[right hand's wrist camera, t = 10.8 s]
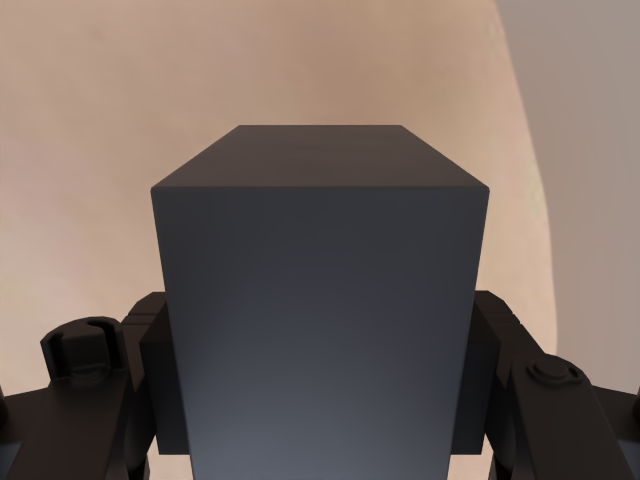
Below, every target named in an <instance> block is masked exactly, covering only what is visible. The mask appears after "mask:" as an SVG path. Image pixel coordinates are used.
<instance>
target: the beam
mask: <svg viewBox="0 0 640 480" xmlns="http://www.w3.org/2000/svg"><path fill="white" fill-rule="evenodd" d="M489 193H490V190H489V187H487V186H486V185H485V184H483V183H482V182H480V181H479V180H478V179H476V178H475V177H473V176H472V175H471V174H469V173H468V172H466V171H465V170H463V169H462V168H461V167H459V166H458V165H456V164H455V163H454V162H452V161H451V160H449V159H448V158H447V157H445V156H444V155H442V154H441V153H440V152H438V151H437V150H435V149H434V148H433V147H431V146H430V145H428V144H427V143H425V142H424V141H423V140H421V139H420V138H418V137H417V136H416V135H414V134H413V133H411V132H410V131H409V130H407V129H406V128H404V127H403V126H401V125H239V126H237V127H236V128H235V129H233V130H232V131H230V132H229V133H228V134H226V135H225V136H223V137H222V138H221V139H219V140H218V141H216V142H215V143H214V144H212V145H211V146H209V147H208V148H206V149H205V150H204V151H202V152H201V153H199V154H198V155H197V156H195V157H194V158H192V159H191V160H190V161H188V162H187V163H185V164H184V165H183V166H181V167H180V168H178V169H177V170H176V171H174V172H173V173H171V174H170V175H168V176H167V177H166V178H164V179H163V180H161V181H160V182H159V183H157V184H156V185H154V186H153V187H152V188H151V198H152V205H153V211H154V218H155V225H156V232H157V238H158V245H159V252H160V258H161V265H162V272H163V279H164V285H165V292H166V299H167V306H168V312H169V319H170V326H171V332H172V339H173V346H174V353H175V359H176V366H177V373H178V379H179V386H180V393H181V400H182V406H183V413H184V420H185V426H186V433H187V440H188V447H189V453H190V460H191V467H192V474H193V480H447V476H448V470H449V463H450V456H451V449H452V443H453V436H454V429H455V422H456V416H457V409H458V402H459V395H460V389H461V382H462V375H463V368H464V362H465V355H466V348H467V341H468V335H469V328H470V321H471V314H472V308H473V301H474V294H475V287H476V281H477V274H478V267H479V260H480V254H481V247H482V240H483V233H484V227H485V220H486V213H487V206H488V200H489Z"/></svg>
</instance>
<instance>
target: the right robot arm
mask: <svg viewBox="0 0 640 480" xmlns="http://www.w3.org/2000/svg"><path fill="white" fill-rule="evenodd" d="M40 344H41V347H42V351H43V354H44V358H45V362H46V365H47V369H48V372H49V376H50V379H51V381H50V383H49V385H48V387H47V388H43V389H39V390H35V391H30V392H25V393H20V394H15V395H10V396H5V397H4V395H3V392H2V389H1V386H0V480H149V476H150V468H149V462H148V457H147V452H148V450H149V448H150V445H151V443H152V441H153V439H154V436H155V434H156V440H157V445H158V451H159V455H190V453H189V447H188V440H187V433H186V426H185V420H184V413H183V406H182V400H181V393H180V386H179V379H178V373H177V366H176V359H175V353H174V346H173V339H172V332H171V326H170V319H169V312H168V306H167V299H166V292H152V293H150V294H149V295H147V296H146V297H144V298H142V299H141V300H139V301H138V302H137V303H136V304H135V305H134V307H133V308H132V309H131V310H130V312H129V313H128V316H126V317H125V318H124V319H123V321H122V322H121V323H120V322H118V321H117V320H116V319H114V318H109V317H105V316H100V317H87V318H82V319H77V320H74V321H71V322H68V323H66V324H63V325H61V326H59V327H57V328H55V329H54V330H52V331H51V332H49V333H47V335H46V336H45V337H44V338H43V339H42V340H41V341H40ZM485 434H486V436H487V438H488V440H489V442H490V445H491V447H492V449H493V457H492V462H491V467H490V472H489V477H488V480H640V387H639V390H638V393H637V395H635V394H630V393H625V392H620V391H615V390H610V389H605V388H601V387H597V386H593V385H591V383H590V380H589V379H588V378H587V376H586V375H585V374H584V372H583V371H582V370H581V369H579V368H578V367H576V366H575V365H574V364H572V363H571V362H569V361H566V360H564V359H562V358H560V357H557V356H554V355H550V354H546V353H544V352H543V350H542V349H541V348H540V346H539V345H538V344H537V343H536V341H535V340H534V339H533V337H532V336H531V335H530V334H529V332H528V331H527V330H526V329H525V327H524V326H523V325H522V324H520V321H519V320H518V318H517V317H516V316H515V315H514V314H513V313H512V311H511V309H510V308H509V307H508V306H507V304H506V303H505V302H504V301H503V300H502V299H500V298H499V297H497V296H496V295H494V294H492V293H491V292H489V291H475V294H474V301H473V308H472V314H471V321H470V328H469V335H468V341H467V348H466V355H465V362H464V368H463V375H462V382H461V389H460V395H459V402H458V409H457V416H456V422H455V429H454V436H453V443H452V449H451V455H481V452H482V447H483V442H484V436H485Z"/></svg>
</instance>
